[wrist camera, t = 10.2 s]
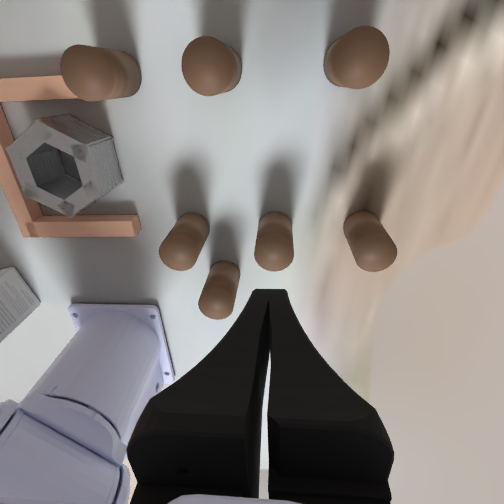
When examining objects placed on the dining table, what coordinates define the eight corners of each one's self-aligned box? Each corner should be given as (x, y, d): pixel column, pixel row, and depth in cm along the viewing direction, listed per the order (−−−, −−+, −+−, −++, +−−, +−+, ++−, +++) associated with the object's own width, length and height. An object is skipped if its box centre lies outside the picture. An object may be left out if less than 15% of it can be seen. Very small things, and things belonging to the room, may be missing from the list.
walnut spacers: (382, 288, 25) (398, 323, 21) (152, 285, 26) (132, 317, 23) (448, -73, 15) (500, -120, 11) (75, -39, 16) (19, -70, 13)
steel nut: (128, 201, 23) (108, 217, 20) (60, 202, 23) (32, 218, 21) (107, 112, 20) (81, 117, 17) (30, 115, 20) (-7, 121, 18)
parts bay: (141, 229, 24) (134, 236, 23) (34, 230, 25) (23, 237, 24) (105, 73, 19) (94, 73, 18) (-27, 80, 20) (-45, 81, 19)
